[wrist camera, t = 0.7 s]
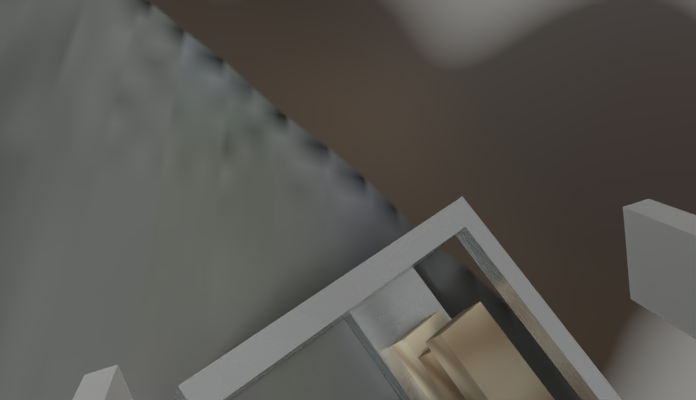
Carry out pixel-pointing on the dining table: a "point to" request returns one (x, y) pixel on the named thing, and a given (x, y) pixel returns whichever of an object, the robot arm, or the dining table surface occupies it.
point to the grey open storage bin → (399, 314)
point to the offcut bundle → (467, 359)
